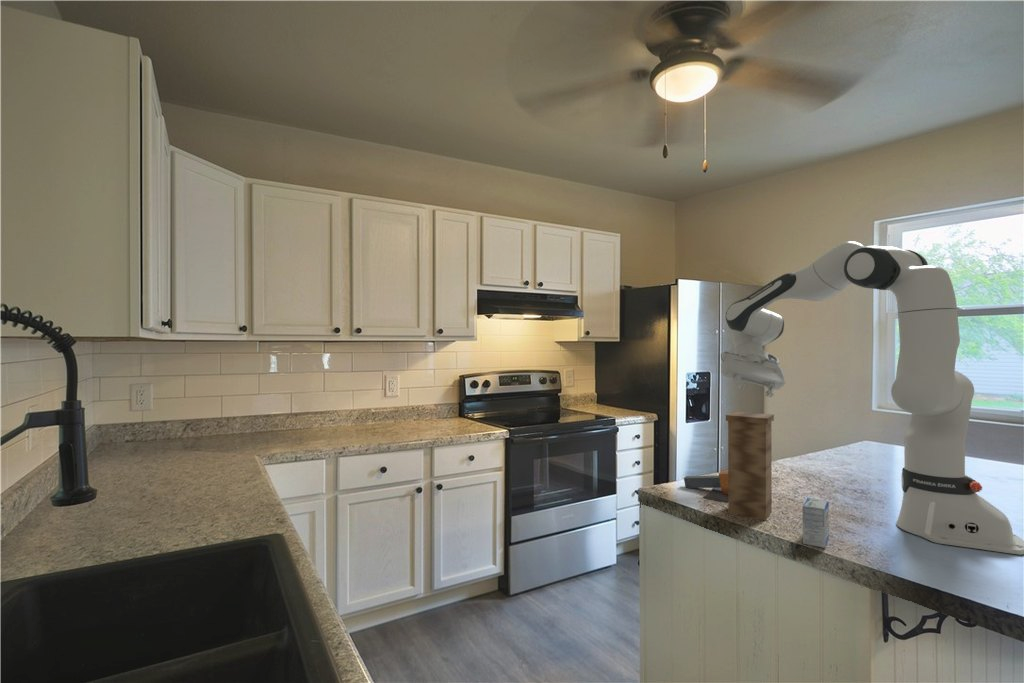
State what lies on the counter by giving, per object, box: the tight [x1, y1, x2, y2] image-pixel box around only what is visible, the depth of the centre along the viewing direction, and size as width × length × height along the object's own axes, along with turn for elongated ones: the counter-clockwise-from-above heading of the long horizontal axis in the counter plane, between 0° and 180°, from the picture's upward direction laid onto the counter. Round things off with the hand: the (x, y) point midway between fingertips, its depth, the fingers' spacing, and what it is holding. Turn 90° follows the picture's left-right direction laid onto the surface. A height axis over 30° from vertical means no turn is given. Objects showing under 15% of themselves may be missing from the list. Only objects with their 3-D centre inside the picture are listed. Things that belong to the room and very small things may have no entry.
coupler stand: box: [725, 411, 775, 521], centre depth 130 cm, size 10×9×26 cm
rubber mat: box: [703, 488, 728, 503], centre depth 146 cm, size 9×16×1 cm, turn 143°
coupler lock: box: [683, 469, 728, 494], centre depth 149 cm, size 6×17×5 cm
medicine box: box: [801, 497, 830, 549], centre depth 111 cm, size 8×4×9 cm, turn 143°
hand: (756, 392), depth 154 cm, fingers open, 8 cm apart
